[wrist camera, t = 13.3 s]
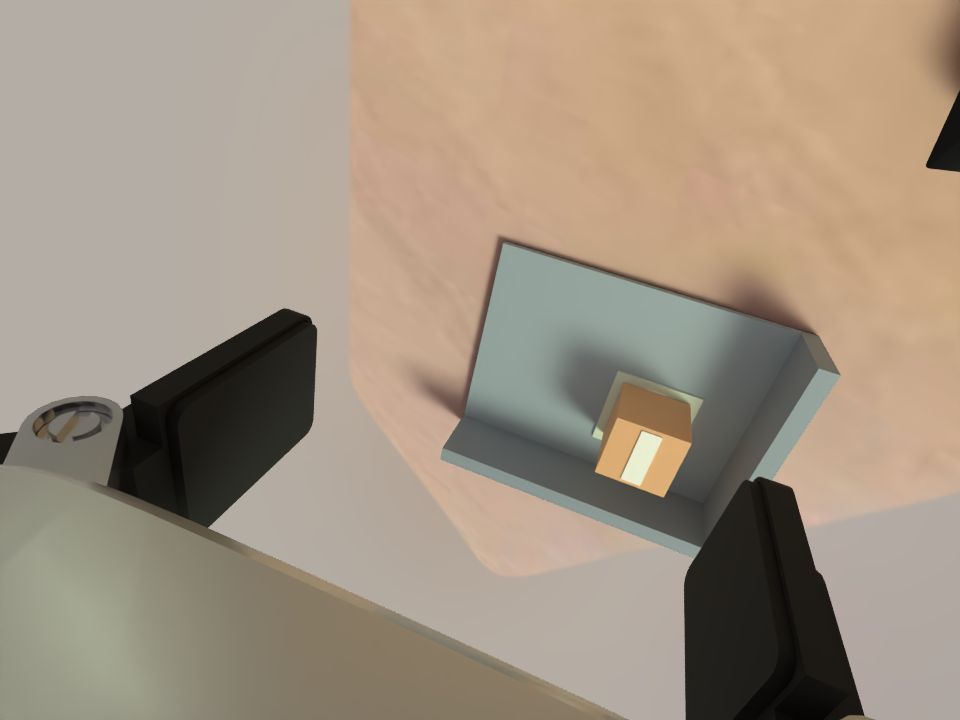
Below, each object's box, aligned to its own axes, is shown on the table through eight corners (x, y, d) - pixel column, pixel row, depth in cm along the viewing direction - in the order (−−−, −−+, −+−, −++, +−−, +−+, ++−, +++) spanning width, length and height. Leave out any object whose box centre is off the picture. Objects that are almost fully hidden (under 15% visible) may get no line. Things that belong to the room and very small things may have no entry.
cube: (623, 382, 40) (617, 418, 36) (690, 404, 39) (691, 444, 35) (603, 433, 42) (594, 472, 38) (665, 455, 42) (663, 498, 37)
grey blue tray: (463, 421, 48) (440, 459, 43) (505, 241, 39) (481, 262, 34) (711, 514, 44) (715, 566, 39) (818, 336, 35) (840, 375, 30)
